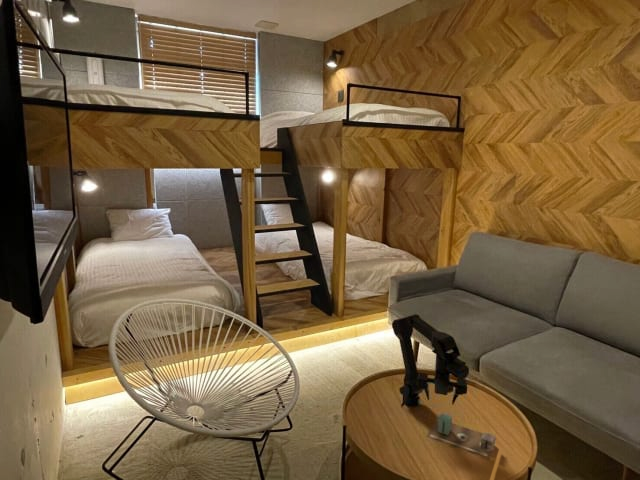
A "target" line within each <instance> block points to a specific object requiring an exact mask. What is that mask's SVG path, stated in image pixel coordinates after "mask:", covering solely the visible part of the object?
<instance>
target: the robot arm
mask: <svg viewBox="0 0 640 480" xmlns="http://www.w3.org/2000/svg"><path fill="white" fill-rule="evenodd" d="M391 327H392V330H393V334H394V336H395V337H396V338H397V339H398V340H399V346H400V351H401V356H402V360H403V366H404V370H405V374H404V378H403V386H401V387H399V393H400V395H402V403H401V405H400V407H402V408H403V407H404V405H405V406H408V407H410V408H411V407H413V408H414V407H415V408H418V407H419V406H420V404H421V396H420V394H421V393H423V391H424V393H425V395H426V398H427V400H428V401H430V384H431V385H434V390H433V391H434V393H435V394H437V395H443V396H447V395H448V394H450V393H453V394H452V395H453V396H452V400H451V405H454V404H455V402H456V400H457V398H458V397H459V396H462V395H467V393H468V380H465V379H467V378H468V375H469V373H470V369H469V366H468V365H466V364H467V363H466V362H465V361H464V360H461V359H459V358H458V357H460V356H461V353H460V349H459V347H458V346H457V342H456V340H455V338H454V337H453V336H452V335H450V334H449V333H446V332H444V331H439V330H437V329H436V328H435V327H434V326H432V325H430V324H429V323H428V322H426V321H425V320H424V319H423V318H421V317H420V315H419V314H416V313H415V314H411V315H408V316H404V317H401V318H397V319H394V320H393V321H392V323H391ZM414 329H415V330H416V331H417V332H418V333H419V334H421V335H422V336H423V337H424V338H426V339H427V340H428V341H429V342H430V344H431V347H432V348H433V350H431V352H432V353H433V354H435V363H434V364H435V368H434V377H433V378H431V377H429V373H423V372H418V367H417V362H416V358H415V352H414V346H413V342H412V335H413V332H414ZM450 351H452V352H450ZM451 375H452V376H453V377H454V378H455V379H456V381H453V380H452V381H451Z"/></svg>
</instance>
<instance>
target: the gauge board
mask: <svg viewBox="0 0 640 480" xmlns="http://www.w3.org/2000/svg"><path fill="white" fill-rule="evenodd" d="M438 422H439V417H437V418H435V421H434V422H433V425H432V427H431V428H430V430H429V432H428V434H427V435H426V438H428V439H432V440H434V441H437V442H440V443H442V444H445V445H448V446H450V447H453V448H456V449H458V450H461V451H465V452H467V453H470V454H473V455H476V456H477V457H478V456H479V457H482V458H484V459H487V460H490V457H491V455H492V452H493V451H495V448H496V446H495V443H496V439H497V437H495V435H493V434H490V433H487V432H480V431H477V430H474V429H470V428H468V427H464V426H461V425H460V424H456V423H453V422H451V430H450V432H449V435H446V434H443V433H440V432H438Z"/></svg>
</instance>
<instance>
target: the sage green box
mask: <svg viewBox="0 0 640 480" xmlns="http://www.w3.org/2000/svg"><path fill="white" fill-rule="evenodd" d="M452 418H453V416H452V415H450V414H446V413H443V412H441V413H440V415H439V417H438V419H439V422H438V432H440V433H443V434H446V435H449V432H450V430H451V423H453V422H452Z"/></svg>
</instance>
